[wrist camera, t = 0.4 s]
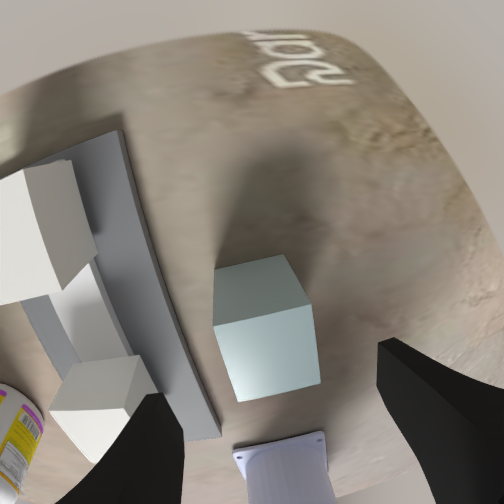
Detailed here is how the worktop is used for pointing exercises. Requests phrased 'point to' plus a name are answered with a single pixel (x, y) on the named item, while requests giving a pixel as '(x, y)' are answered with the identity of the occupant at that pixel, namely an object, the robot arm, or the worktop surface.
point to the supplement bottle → (16, 440)
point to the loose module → (264, 328)
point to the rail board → (96, 294)
